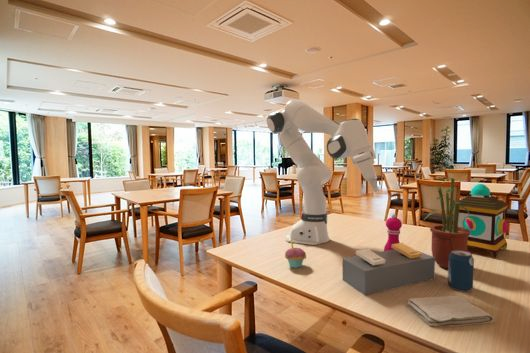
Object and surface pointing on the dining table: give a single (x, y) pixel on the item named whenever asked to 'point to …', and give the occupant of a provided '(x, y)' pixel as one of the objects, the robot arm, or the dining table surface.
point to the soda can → (460, 270)
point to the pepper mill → (392, 232)
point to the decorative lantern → (484, 220)
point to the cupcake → (295, 256)
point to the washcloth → (448, 311)
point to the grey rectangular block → (387, 271)
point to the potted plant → (448, 229)
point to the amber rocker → (406, 250)
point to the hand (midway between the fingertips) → (376, 191)
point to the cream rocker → (370, 257)
